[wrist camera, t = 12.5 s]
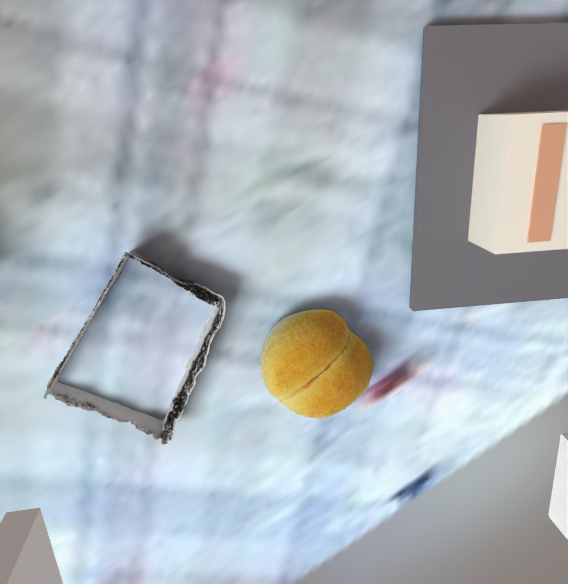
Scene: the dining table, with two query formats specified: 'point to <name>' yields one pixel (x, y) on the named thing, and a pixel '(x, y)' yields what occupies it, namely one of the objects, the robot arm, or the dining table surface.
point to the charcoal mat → (461, 157)
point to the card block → (520, 182)
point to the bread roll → (315, 363)
